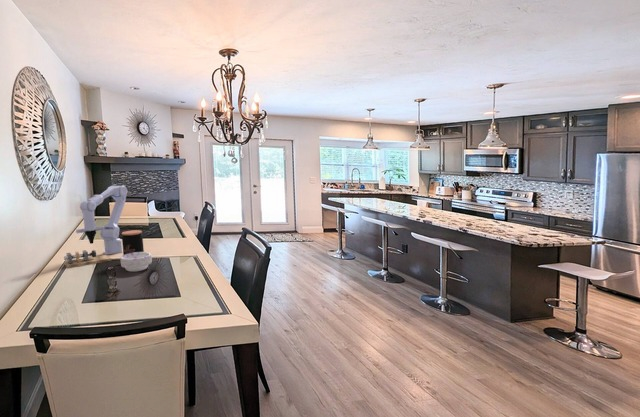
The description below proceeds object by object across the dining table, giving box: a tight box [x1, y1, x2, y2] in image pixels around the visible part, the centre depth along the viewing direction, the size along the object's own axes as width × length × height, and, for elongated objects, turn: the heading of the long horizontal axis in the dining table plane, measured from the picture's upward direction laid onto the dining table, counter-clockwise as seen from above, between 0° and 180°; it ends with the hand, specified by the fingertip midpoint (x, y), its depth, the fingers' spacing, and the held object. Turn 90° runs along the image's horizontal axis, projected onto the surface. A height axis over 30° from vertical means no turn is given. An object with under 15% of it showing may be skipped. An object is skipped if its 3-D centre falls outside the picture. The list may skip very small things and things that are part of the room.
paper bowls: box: [119, 251, 153, 273], centre depth 214 cm, size 15×15×8 cm
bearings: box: [66, 250, 89, 264], centre depth 227 cm, size 10×6×5 cm, turn 130°
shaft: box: [63, 249, 97, 261], centre depth 228 cm, size 16×4×4 cm, turn 130°
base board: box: [63, 254, 112, 269], centre depth 230 cm, size 22×12×2 cm, turn 130°
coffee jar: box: [121, 229, 145, 256], centre depth 227 cm, size 11×11×18 cm
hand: (91, 243), depth 238 cm, fingers closed
